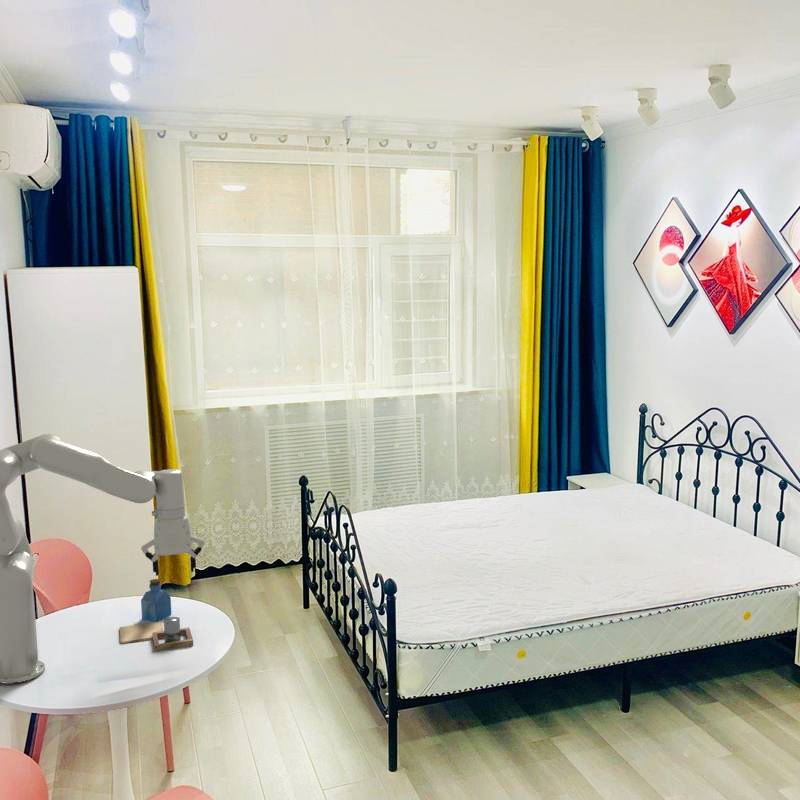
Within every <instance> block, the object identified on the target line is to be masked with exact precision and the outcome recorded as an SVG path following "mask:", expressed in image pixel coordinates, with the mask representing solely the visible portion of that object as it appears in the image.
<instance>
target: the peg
mask: <svg viewBox="0 0 800 800" xmlns="http://www.w3.org/2000/svg"><path fill="white" fill-rule="evenodd" d="M180 620H181V619H180V617H178V616H168V617H166V618H164V619H163V631H164V643H167V642H174V641H180V640H181V638H182V637H181V635H180V629H181V621H180Z"/></svg>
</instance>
